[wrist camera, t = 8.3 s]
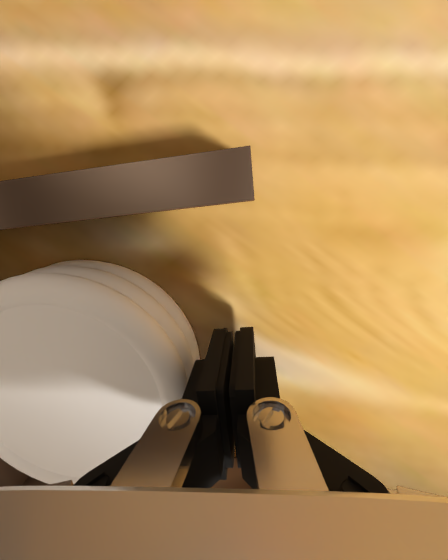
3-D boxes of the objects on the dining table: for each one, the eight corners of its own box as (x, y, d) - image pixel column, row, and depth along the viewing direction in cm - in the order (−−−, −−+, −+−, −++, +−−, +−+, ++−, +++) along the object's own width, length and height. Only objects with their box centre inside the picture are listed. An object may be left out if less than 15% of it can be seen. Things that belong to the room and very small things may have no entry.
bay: (250, 159, 10) (250, 145, 8) (275, 479, 14) (279, 535, 12) (-80, 203, 12) (-163, 204, 9) (29, 475, 16) (-9, 522, 14)
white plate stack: (196, 444, 15) (180, 516, 11) (27, 417, 15) (-36, 477, 12) (210, 269, 12) (193, 296, 8) (0, 246, 12) (-93, 262, 9)
